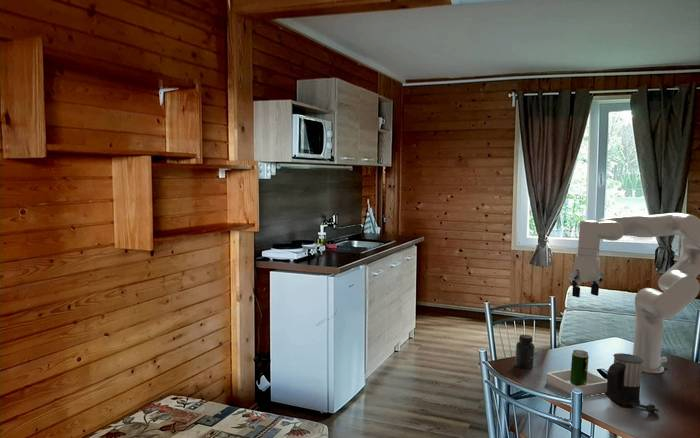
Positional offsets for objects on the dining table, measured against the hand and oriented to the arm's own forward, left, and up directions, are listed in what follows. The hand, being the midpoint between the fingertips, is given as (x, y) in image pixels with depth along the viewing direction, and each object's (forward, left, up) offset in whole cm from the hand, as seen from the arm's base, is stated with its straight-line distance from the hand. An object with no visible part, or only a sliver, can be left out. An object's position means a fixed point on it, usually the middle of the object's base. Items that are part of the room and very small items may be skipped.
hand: (585, 295), depth 216 cm
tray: (+18, +16, -28) cm, 37 cm away
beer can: (+18, +16, -28) cm, 36 cm away
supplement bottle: (+21, -8, -28) cm, 36 cm away
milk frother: (+11, +33, -29) cm, 45 cm away
